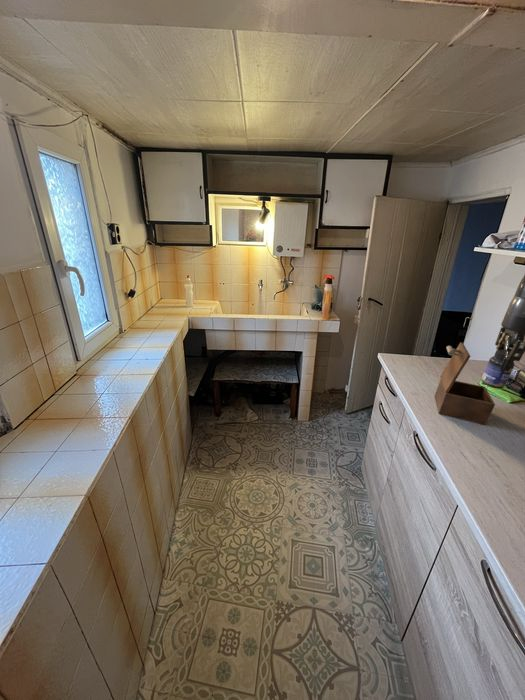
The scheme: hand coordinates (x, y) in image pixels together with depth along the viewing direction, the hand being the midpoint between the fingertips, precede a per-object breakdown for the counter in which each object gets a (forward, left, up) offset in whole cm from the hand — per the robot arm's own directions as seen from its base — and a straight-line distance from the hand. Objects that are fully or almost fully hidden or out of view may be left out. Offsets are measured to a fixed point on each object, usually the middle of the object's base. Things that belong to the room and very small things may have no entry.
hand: (500, 365), depth 86 cm
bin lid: (+8, -11, -8) cm, 16 cm away
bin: (+2, -11, -25) cm, 27 cm away
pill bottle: (0, 0, -7) cm, 7 cm away
